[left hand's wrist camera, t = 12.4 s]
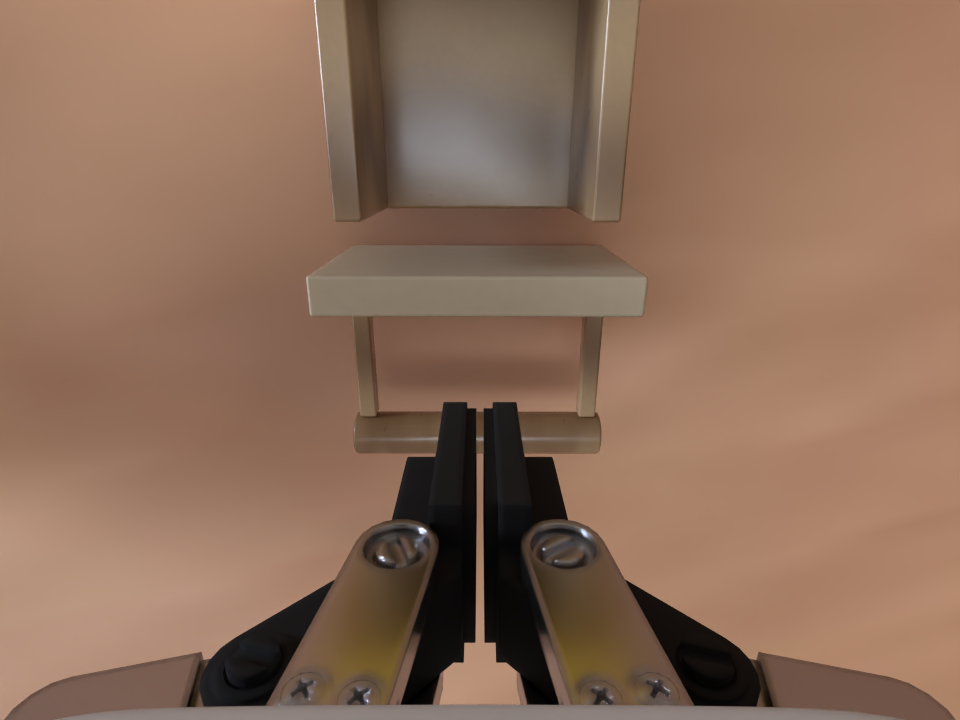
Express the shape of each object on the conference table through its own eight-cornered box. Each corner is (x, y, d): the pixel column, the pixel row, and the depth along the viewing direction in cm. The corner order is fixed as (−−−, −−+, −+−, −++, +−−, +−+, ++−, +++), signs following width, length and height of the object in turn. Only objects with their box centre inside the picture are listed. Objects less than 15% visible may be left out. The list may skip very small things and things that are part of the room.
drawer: (589, 411, 23) (625, 492, 18) (366, 411, 23) (329, 492, 18) (648, -313, 15) (747, -592, 10) (308, -314, 15) (206, -593, 10)
